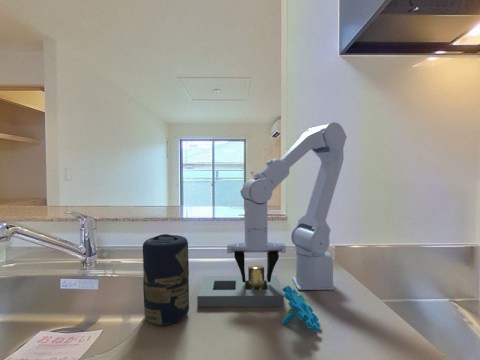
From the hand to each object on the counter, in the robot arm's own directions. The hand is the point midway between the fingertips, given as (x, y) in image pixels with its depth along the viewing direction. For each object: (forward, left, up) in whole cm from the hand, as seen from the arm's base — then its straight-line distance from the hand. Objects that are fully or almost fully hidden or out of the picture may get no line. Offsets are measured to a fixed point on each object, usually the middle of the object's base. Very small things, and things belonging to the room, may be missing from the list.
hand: (256, 280), depth 71 cm
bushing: (0, 0, -4) cm, 4 cm away
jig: (+4, 0, -4) cm, 5 cm away
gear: (-8, +13, -4) cm, 16 cm away
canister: (+20, +10, -4) cm, 23 cm away
